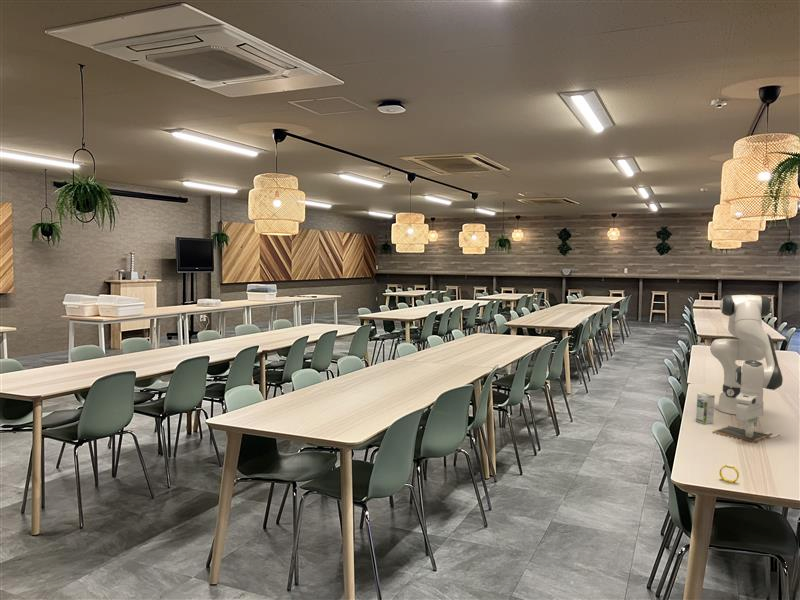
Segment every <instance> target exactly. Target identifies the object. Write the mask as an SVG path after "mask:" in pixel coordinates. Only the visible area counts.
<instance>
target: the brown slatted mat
mask: <svg viewBox="0 0 800 600" xmlns="http://www.w3.org/2000/svg"><path fill="white" fill-rule="evenodd" d="M714 433H716V434H715V435H719V434H720V435H719V436H723V435H724V436H723V437H727V436H729V437H728V438H731V437H733V438H732V439H736V438H737V439H736V440H740V439H742V440H741V441H744V440H745V442H748V441H750V442H749V443H753V442H754V444H755V442H756V443H758V442H761V441H764V440H765V438H766V439H769V436H770V435H768V434H764V433H765V432H759V431H754V433H753V436H752V438H748V437H746V435H745V430H744V429H742V427H738V426H737V427H736V426H732V425H727V426H724V427H721V428H718V429H715V430H713V431H712V434H714ZM760 440H761V441H760Z"/></svg>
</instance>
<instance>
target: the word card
mask: <svg viewBox="0 0 800 600" xmlns="http://www.w3.org/2000/svg"><path fill="white" fill-rule="evenodd" d="M763 433H764V434H768V435H770V436H769V437H770V439H773V437H774V438H777V437H779V436H778V435H779V433H778V434H777V433H772V432H768V431H766V432H763ZM769 437H768V438H769Z"/></svg>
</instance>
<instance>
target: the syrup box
mask: <svg viewBox="0 0 800 600" xmlns="http://www.w3.org/2000/svg"><path fill="white" fill-rule="evenodd" d="M715 398H716V396H715V394H711V393H708V392H704V391H703V392H697V395H696V411H695V422H696V421H697V422H698V423H700V424H703V425H710V424H713V423H714V413H715ZM697 422H696V423H697Z"/></svg>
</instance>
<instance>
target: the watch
mask: <svg viewBox="0 0 800 600" xmlns="http://www.w3.org/2000/svg"><path fill="white" fill-rule="evenodd" d="M724 468H728V469H733V470H734V471H735V473H736V478H735V479H734V480H731V479H726V478H725V477H724V476H723V474H722V470H723V469H724ZM719 477H720V478H721V479H722V481H724V480H725V482H728V481H729V482H730V483H732V482H733V483H736V482H737V481H738V479H739V477H740V472H739V471H738V468H736V466H735V465H733V464H731V463H726V464H724V465H723V466H722V467H721V468H720V469H719Z"/></svg>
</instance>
